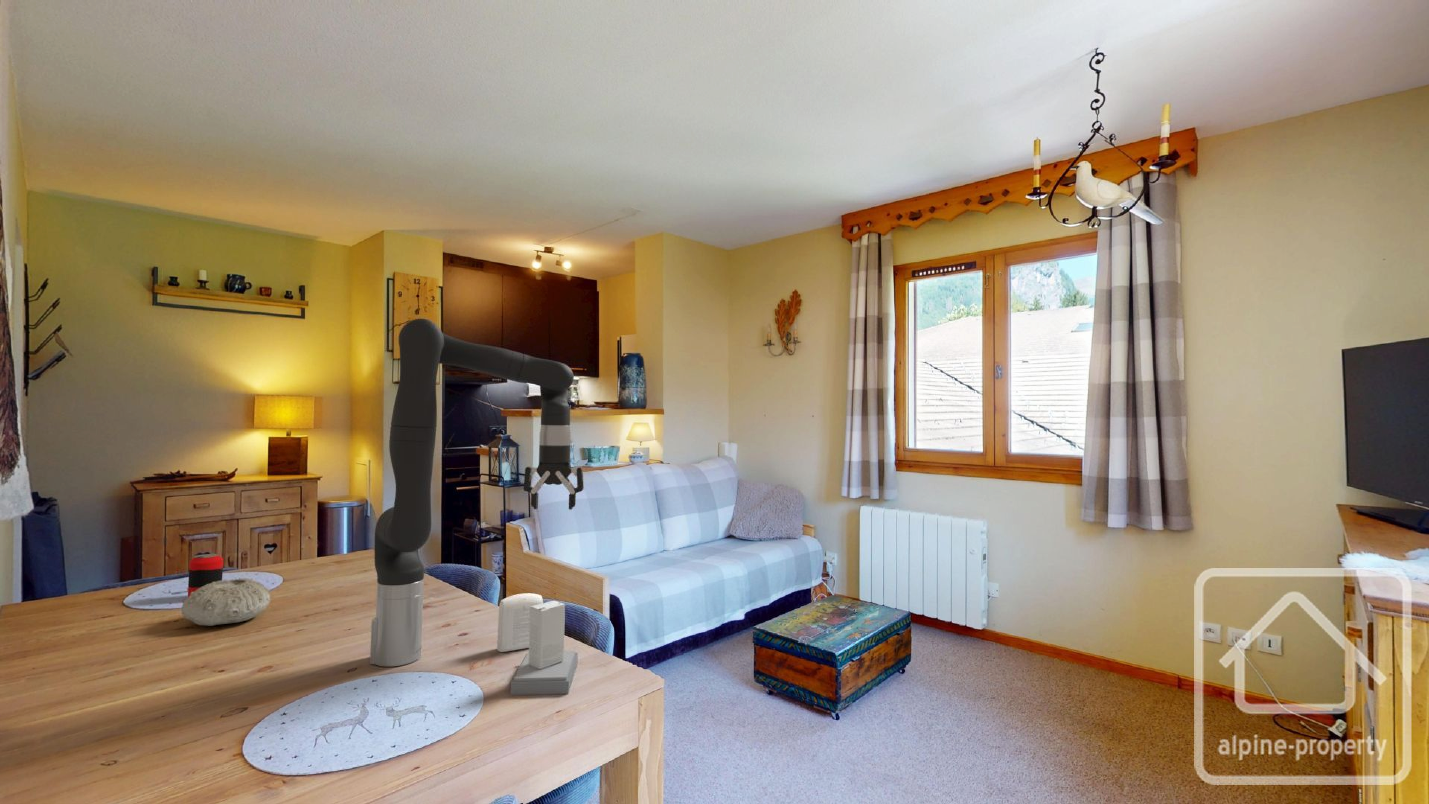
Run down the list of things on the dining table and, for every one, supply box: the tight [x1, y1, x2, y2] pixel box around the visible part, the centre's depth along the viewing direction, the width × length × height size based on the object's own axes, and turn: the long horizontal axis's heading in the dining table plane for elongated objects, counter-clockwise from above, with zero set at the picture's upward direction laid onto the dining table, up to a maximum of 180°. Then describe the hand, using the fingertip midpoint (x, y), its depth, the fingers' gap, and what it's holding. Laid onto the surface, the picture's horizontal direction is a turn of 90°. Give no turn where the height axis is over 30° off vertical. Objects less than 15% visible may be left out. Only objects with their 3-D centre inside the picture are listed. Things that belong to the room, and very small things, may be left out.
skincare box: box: [528, 600, 566, 669], centre depth 127 cm, size 6×4×12 cm
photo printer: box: [496, 592, 544, 653], centre depth 144 cm, size 10×4×12 cm, turn 123°
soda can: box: [187, 553, 224, 598], centre depth 177 cm, size 8×8×12 cm
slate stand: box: [510, 650, 579, 696], centre depth 126 cm, size 11×15×3 cm
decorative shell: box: [181, 577, 271, 627], centre depth 157 cm, size 18×18×10 cm
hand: (553, 509), depth 151 cm, fingers open, 8 cm apart
